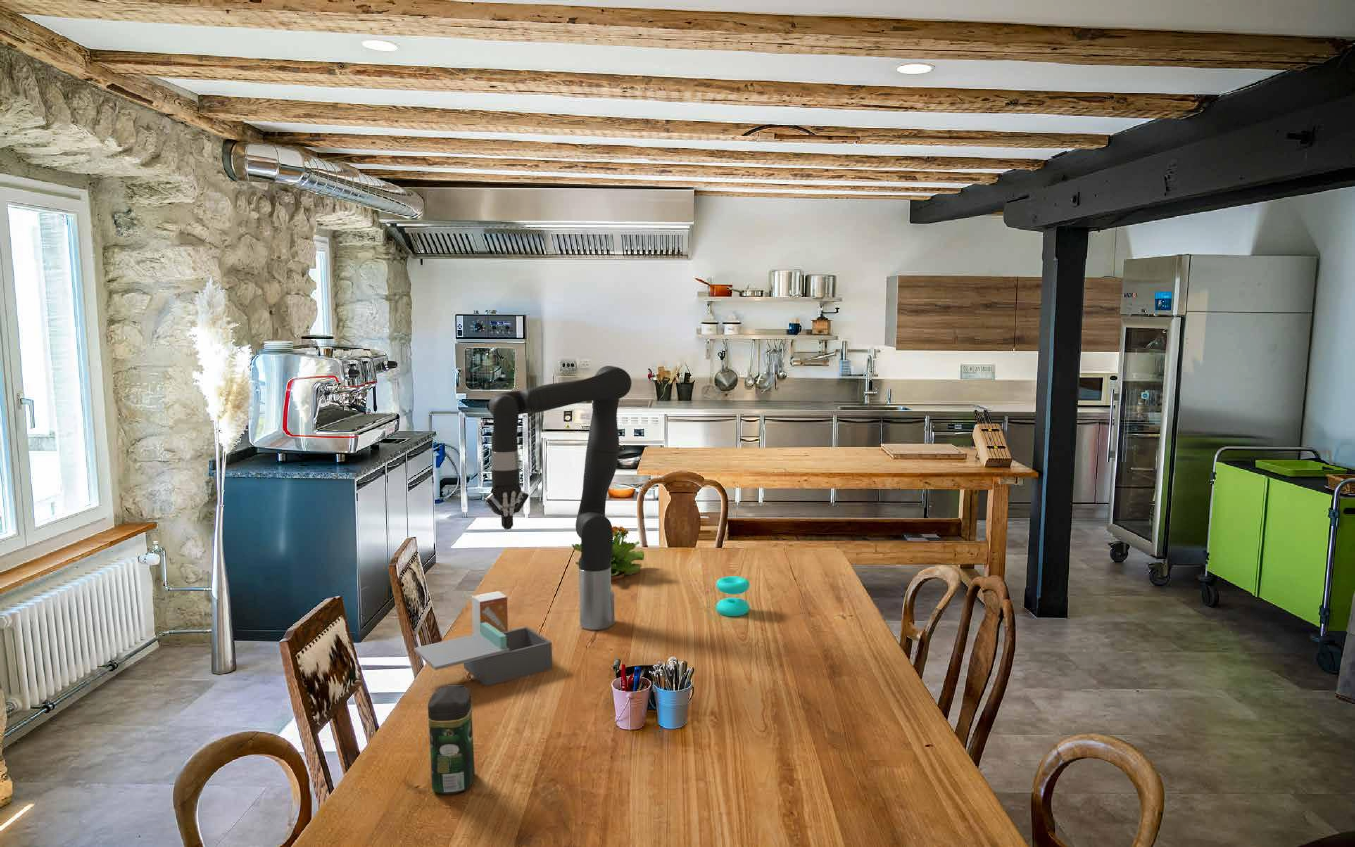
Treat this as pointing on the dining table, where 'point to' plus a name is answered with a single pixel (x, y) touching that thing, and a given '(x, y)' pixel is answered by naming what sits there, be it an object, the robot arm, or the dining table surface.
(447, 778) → the coffee jar
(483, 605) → the small box
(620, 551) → the potted flower
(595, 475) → the robot arm
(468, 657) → the lid
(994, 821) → the dining table surface
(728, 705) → the dining table surface
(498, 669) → the base
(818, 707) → the dining table surface
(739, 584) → the donuts
